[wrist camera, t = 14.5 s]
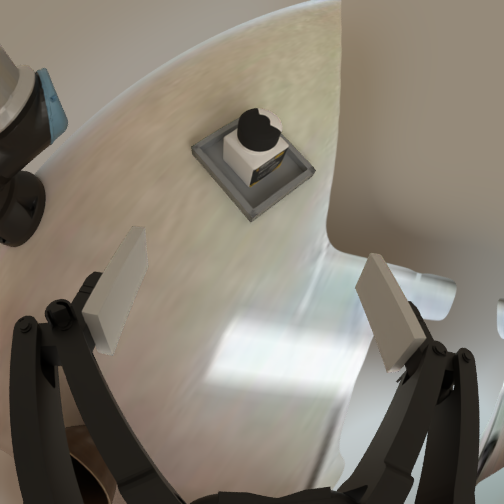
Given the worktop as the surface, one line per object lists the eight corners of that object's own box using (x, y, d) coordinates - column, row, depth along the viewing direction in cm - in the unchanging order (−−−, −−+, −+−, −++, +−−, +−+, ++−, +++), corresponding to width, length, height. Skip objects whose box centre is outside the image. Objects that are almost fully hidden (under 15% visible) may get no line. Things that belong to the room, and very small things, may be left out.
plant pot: (64, 451, 33) (24, 486, 18) (68, 391, 36) (16, 418, 21) (133, 483, 34) (109, 533, 18) (143, 425, 37) (113, 473, 21)
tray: (192, 154, 46) (191, 146, 44) (253, 116, 49) (255, 108, 46) (250, 222, 45) (252, 218, 42) (311, 176, 48) (316, 170, 45)
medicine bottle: (249, 189, 45) (258, 152, 34) (222, 159, 46) (223, 117, 34) (280, 166, 47) (298, 127, 35) (253, 138, 47) (263, 95, 35)
